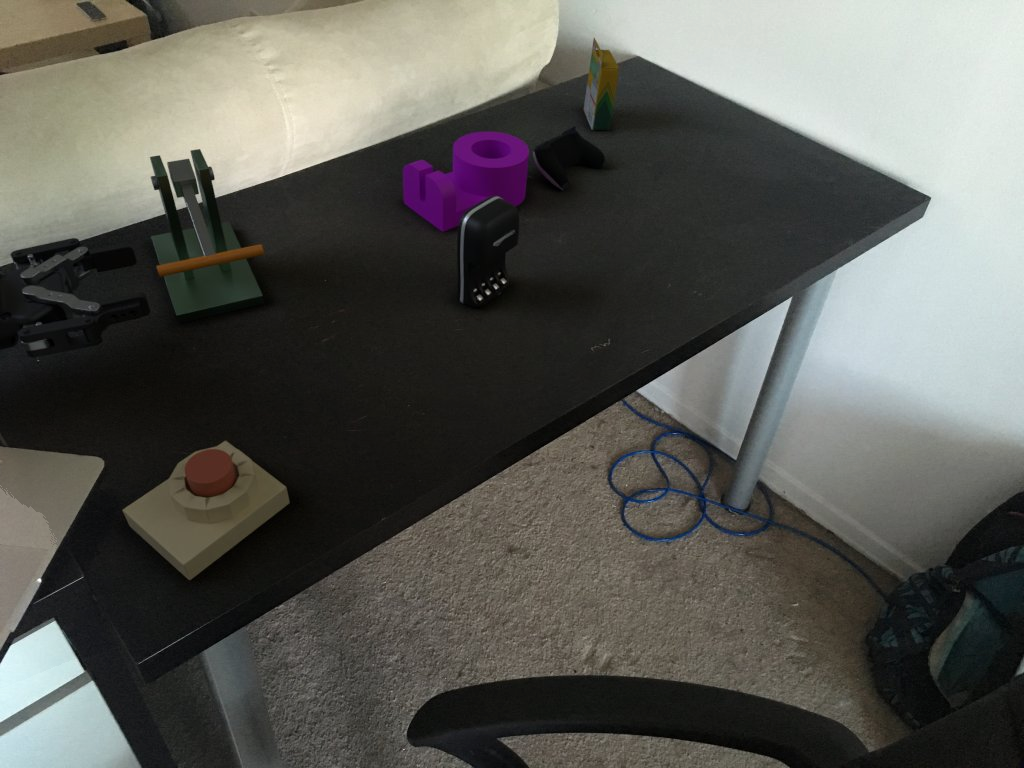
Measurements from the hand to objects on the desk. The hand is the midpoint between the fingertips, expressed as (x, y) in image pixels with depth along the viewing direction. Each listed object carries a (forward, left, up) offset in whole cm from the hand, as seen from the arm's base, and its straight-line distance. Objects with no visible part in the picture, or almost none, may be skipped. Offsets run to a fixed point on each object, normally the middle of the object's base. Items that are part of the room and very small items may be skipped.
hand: (140, 277), depth 75 cm
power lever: (+9, +3, +1) cm, 9 cm away
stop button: (-9, -22, -5) cm, 24 cm away
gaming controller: (+59, -10, -8) cm, 60 cm away
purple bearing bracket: (+44, -5, -8) cm, 45 cm away
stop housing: (-10, -22, -8) cm, 25 cm away
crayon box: (+76, -4, -8) cm, 76 cm away
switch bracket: (+10, +7, -8) cm, 15 cm away
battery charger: (+29, -20, -8) cm, 36 cm away
